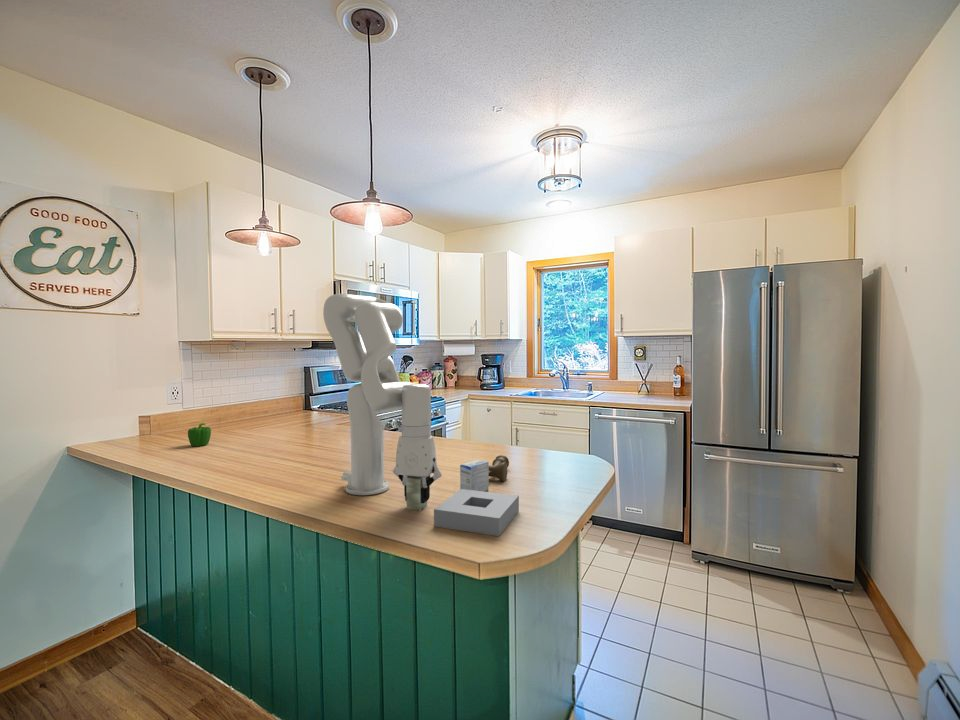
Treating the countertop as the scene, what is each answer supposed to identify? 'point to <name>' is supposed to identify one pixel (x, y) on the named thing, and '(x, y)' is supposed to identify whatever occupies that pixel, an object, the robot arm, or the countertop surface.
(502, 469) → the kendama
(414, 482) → the peg
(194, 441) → the bell pepper
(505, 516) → the socket block
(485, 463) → the medicine box
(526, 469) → the countertop surface
